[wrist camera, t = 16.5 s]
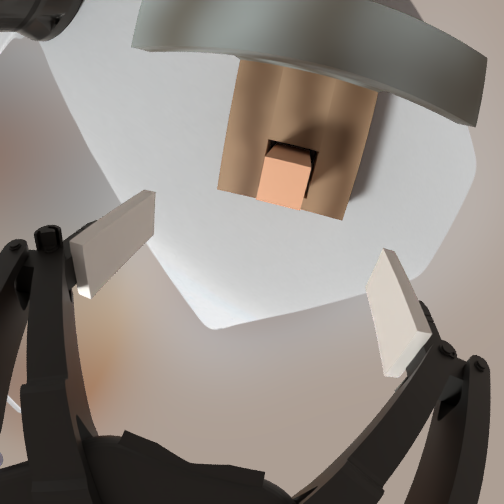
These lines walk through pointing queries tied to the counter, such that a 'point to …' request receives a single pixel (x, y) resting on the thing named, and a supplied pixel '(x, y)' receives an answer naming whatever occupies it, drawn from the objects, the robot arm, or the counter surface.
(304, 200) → the socket stand
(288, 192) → the peg
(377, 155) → the counter surface
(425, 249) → the counter surface
